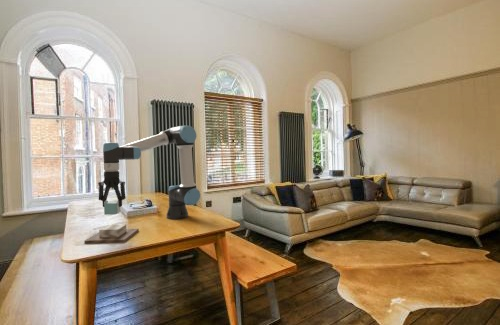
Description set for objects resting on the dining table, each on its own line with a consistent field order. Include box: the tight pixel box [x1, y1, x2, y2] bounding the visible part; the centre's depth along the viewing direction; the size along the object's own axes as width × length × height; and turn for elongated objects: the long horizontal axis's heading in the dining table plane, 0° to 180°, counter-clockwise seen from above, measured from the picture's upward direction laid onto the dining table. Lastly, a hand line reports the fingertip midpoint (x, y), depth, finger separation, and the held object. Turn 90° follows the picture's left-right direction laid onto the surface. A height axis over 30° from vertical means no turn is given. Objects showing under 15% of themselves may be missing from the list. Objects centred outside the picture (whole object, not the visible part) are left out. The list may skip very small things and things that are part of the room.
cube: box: [103, 200, 119, 216], centre depth 146 cm, size 6×6×6 cm
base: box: [83, 224, 140, 245], centre depth 146 cm, size 20×20×6 cm
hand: (112, 212), depth 146 cm, fingers closed on cube, 6 cm apart
